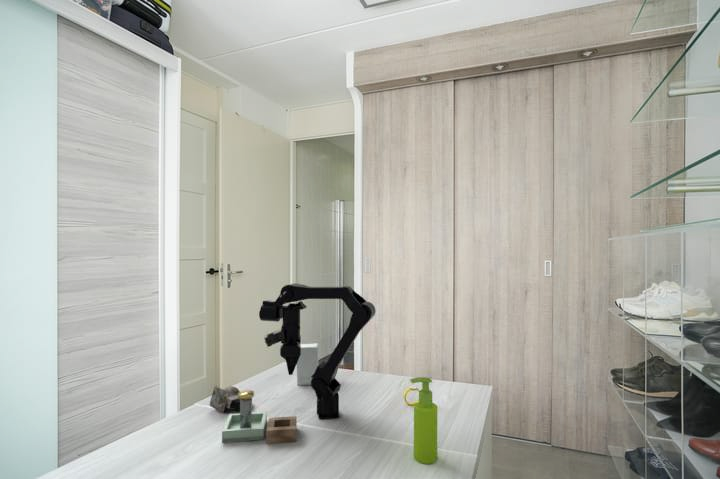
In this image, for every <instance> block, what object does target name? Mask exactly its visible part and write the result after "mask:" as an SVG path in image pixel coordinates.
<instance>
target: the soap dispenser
mask: <svg viewBox="0 0 720 479" xmlns="http://www.w3.org/2000/svg"><path fill="white" fill-rule="evenodd" d="M409 381H410V383H411V384H415V383H422V384H421V385H422V386H421V389H419V391H418V400H419V402H417V401H416V402H414V403H415V404H414V405H413V459H414V460H415V461H416V462H417V463H420V464H423V465H433V464H435V463H436V462H437V461H438V405H437V404H436V403H434V402H433V391H431V389H430V383H431V384H432V383H433V379H432V378H430V377H423V376H422V377H420V376H419V377H414V378H410V379H409Z"/></svg>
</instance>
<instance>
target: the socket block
mask: <svg viewBox="0 0 720 479" xmlns="http://www.w3.org/2000/svg"><path fill="white" fill-rule="evenodd" d="M297 417H298V416H295V415H294V416H279V417H278V416H276V417H268V419H267V424H266V430H265V435H266V437H265V438H266V440H265V441H266V442H265V443H266V445H267V444H268V445H269V444H281V443H296V442H297V430H298V429H297V428H298V427H297Z"/></svg>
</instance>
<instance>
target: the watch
mask: <svg viewBox="0 0 720 479" xmlns="http://www.w3.org/2000/svg"><path fill="white" fill-rule="evenodd" d="M410 391H417V392H419V391H420V389H418V386H416V385H409V386H408V388H407V389H405V391H404V393H403V400H404V402H405V403H406V404H407V405H408V406H414V404H415V403H416V402H419V399H418V400H417V401H416V402H408V401H407V394H408V393H409V392H410Z"/></svg>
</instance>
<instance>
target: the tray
mask: <svg viewBox="0 0 720 479" xmlns="http://www.w3.org/2000/svg"><path fill="white" fill-rule="evenodd" d="M267 424H268V411H260V412H259V411H257V412H252V428H240V412H239V413H229V414H228V417H227V419H226V420H225V423H224V426H223V428H222V430H221V443H232V442H246V441H261V440H264V438H265V435H266V429H267Z"/></svg>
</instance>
